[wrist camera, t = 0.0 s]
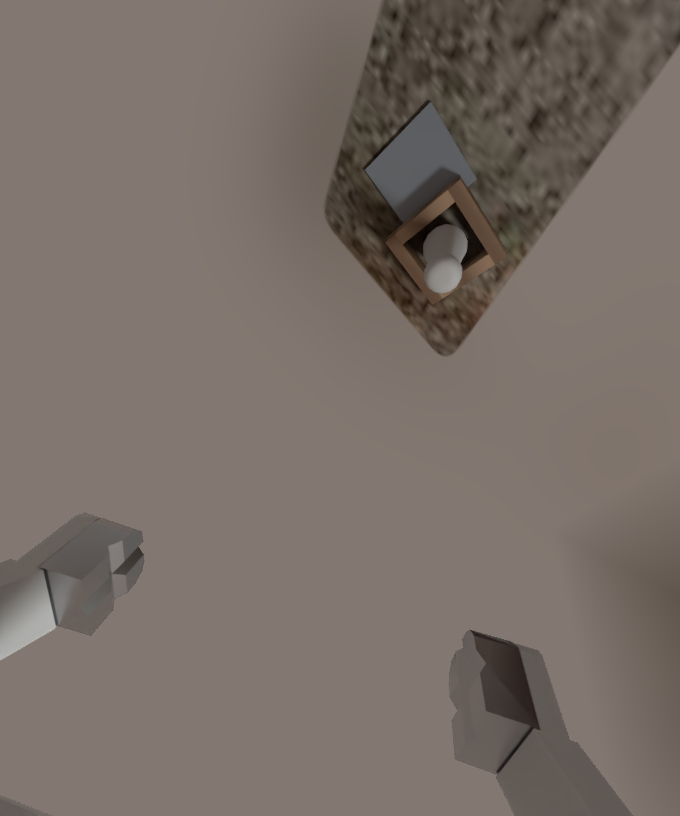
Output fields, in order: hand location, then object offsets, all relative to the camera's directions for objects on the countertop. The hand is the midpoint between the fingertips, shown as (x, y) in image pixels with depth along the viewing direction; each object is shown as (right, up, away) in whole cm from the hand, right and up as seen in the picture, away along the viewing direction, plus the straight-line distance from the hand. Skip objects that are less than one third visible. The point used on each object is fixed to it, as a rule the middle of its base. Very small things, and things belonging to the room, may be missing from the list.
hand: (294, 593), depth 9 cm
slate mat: (+11, +34, +37) cm, 52 cm away
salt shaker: (+16, +28, +42) cm, 53 cm away
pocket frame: (+16, +28, +42) cm, 53 cm away
